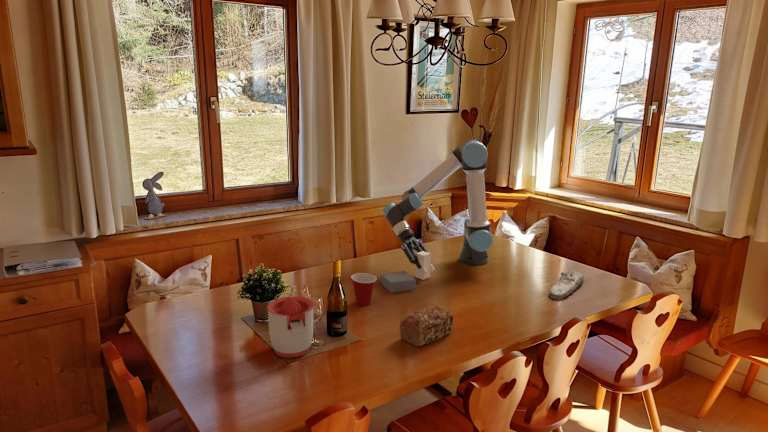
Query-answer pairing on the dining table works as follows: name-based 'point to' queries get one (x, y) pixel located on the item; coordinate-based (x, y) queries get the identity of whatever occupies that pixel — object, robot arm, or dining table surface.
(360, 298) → the plastic cup
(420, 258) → the cream pillar block
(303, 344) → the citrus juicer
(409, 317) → the bread
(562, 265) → the dining table surface
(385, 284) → the blue-grey flat block
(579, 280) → the stone
